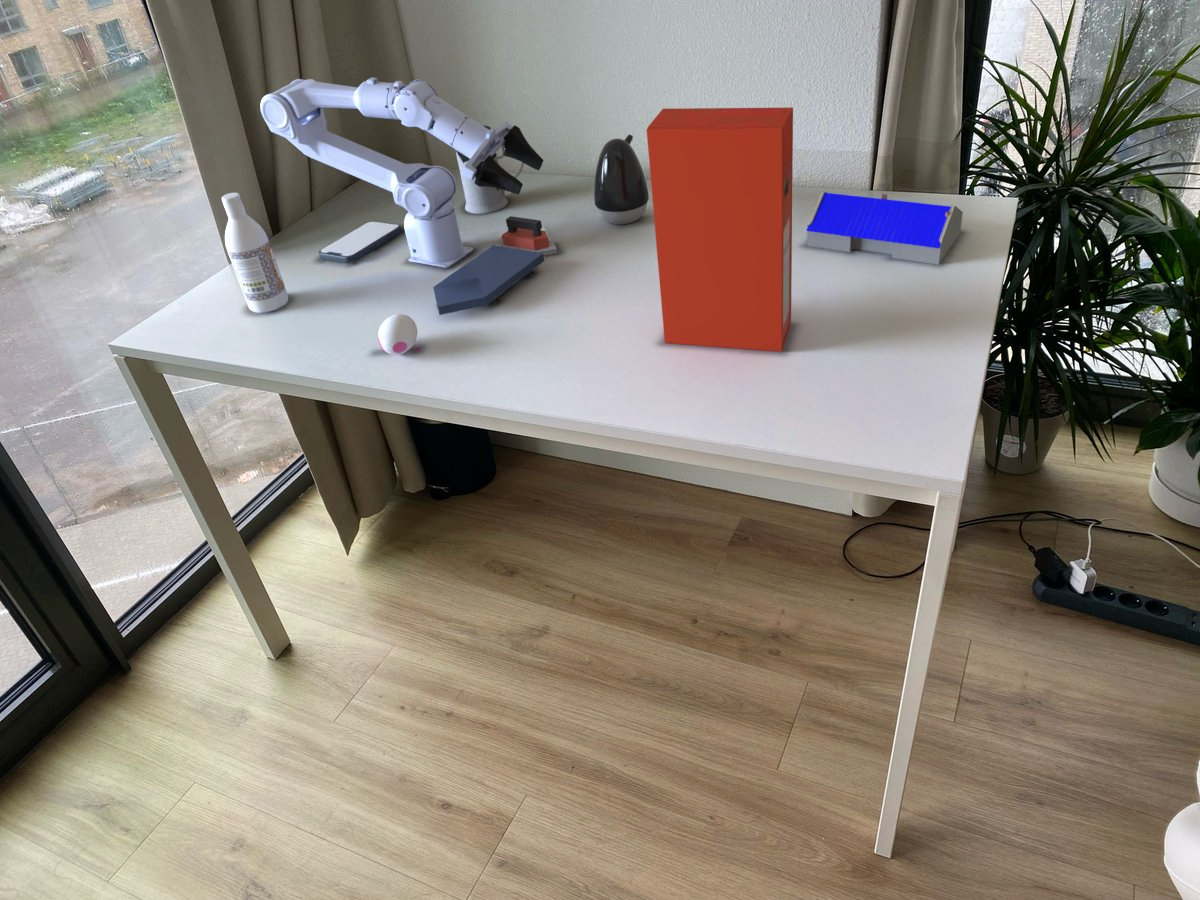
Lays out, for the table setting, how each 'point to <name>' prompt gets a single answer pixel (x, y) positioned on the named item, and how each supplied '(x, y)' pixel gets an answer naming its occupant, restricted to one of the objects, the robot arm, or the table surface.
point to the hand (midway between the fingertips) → (530, 177)
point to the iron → (527, 236)
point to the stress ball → (397, 334)
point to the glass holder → (482, 190)
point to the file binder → (723, 224)
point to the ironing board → (485, 278)
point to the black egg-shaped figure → (620, 183)
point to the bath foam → (252, 259)
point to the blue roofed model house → (884, 226)
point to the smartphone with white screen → (360, 242)
